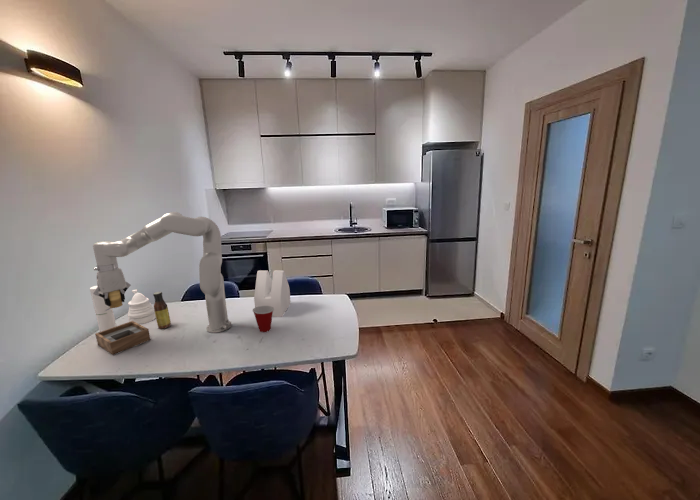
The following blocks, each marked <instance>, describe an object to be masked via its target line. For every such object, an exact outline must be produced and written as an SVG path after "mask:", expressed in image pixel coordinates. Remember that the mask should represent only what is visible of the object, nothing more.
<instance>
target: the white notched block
mask: <svg viewBox="0 0 700 500" xmlns="http://www.w3.org/2000/svg"><path fill="white" fill-rule="evenodd" d="M254 287H255V289H254V296H253V297H254V298H253V302H254V308H255V307H258V306H272V307H274V310H273V313H272V318H283V317H284V315H285V313H286V312H287V310H288V309H289V307H290V306H291V304H292V303H291V302H292V301H291V292H290V291H291V290H290V285H289V282H288V279H287V275H286V273H285V270H279V269H277V270H272V276H271V275H270V272H269V270H257V273H256V280H255V286H254ZM289 305H290V306H289ZM287 308H288V309H287ZM285 311H286V312H285ZM283 314H284V315H283Z"/></svg>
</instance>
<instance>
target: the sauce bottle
mask: <svg viewBox="0 0 700 500" xmlns="http://www.w3.org/2000/svg"><path fill="white" fill-rule="evenodd" d="M152 296H153V297H154V304H153V308H154V311H155V316H156V318H155V320H156V323H157V324H156V325H157V327H158V329H161V330H162V329H163V330H164V329H167V328H170V327H171V326H172V322H171V317H170V313H169V308H168V305H167V303H166V301H165V300H164V297H163V292H162V291H156V292H153V294H152Z"/></svg>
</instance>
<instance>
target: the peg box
mask: <svg viewBox="0 0 700 500" xmlns="http://www.w3.org/2000/svg"><path fill="white" fill-rule="evenodd" d="M150 335H151V334H150V330H149V328H147V327H146V326H144V325H142V324H138V323H136V322H134V321H131V322H129V321H128V322H125V323H122V324H119V325H116V327H113V328H110V329H107V330H104V331H102V332H100V331H99V332H96V333H95V337H96V343H97V345H98V346H99V347H101V349H103V350H104V351H106V352H108V353H109V354H110V355H112V356H115V355H118V354H119V353H122V352H124V351H126V350H129V349H132V348H134V347H136V346H138V345H141V344H143V343H146V342H149V341H150V340H151V336H150Z"/></svg>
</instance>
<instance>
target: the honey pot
mask: <svg viewBox="0 0 700 500" xmlns="http://www.w3.org/2000/svg"><path fill="white" fill-rule="evenodd" d="M131 292H132V293H133V294H134V295H133V296H132V297H131V300H130V301H128V303H127V304H128V306H129V307H128V312H127V318H128V322H131V321H134V322H136V323H138V324H140V325H142V324H147V323H150V322H153V321H154V320H156V316H155V311H154V305H152V302H150V299H149V298H148V297H146V296H145V295H144V294H143V293H141V292H138V289H132V290H131Z"/></svg>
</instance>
